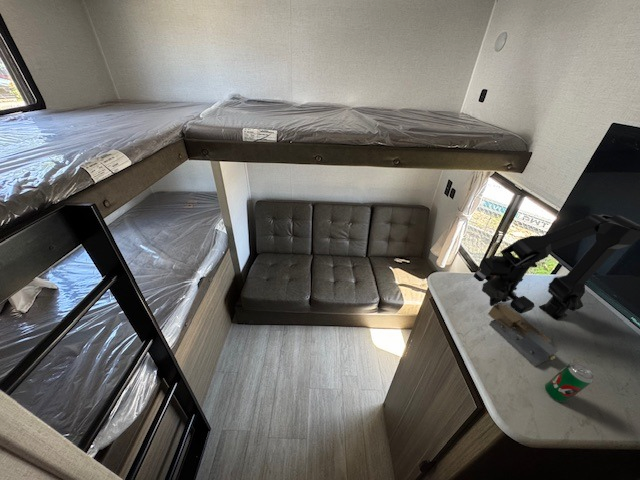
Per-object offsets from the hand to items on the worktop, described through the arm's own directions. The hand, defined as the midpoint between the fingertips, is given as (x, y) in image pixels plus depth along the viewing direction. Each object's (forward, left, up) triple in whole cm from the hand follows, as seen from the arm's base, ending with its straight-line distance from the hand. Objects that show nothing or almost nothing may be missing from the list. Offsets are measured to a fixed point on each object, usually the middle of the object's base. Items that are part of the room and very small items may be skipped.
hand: (491, 305), depth 93 cm
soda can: (+8, +28, -3) cm, 29 cm away
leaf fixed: (+2, +13, -2) cm, 14 cm away
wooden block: (-2, +9, -2) cm, 10 cm away
